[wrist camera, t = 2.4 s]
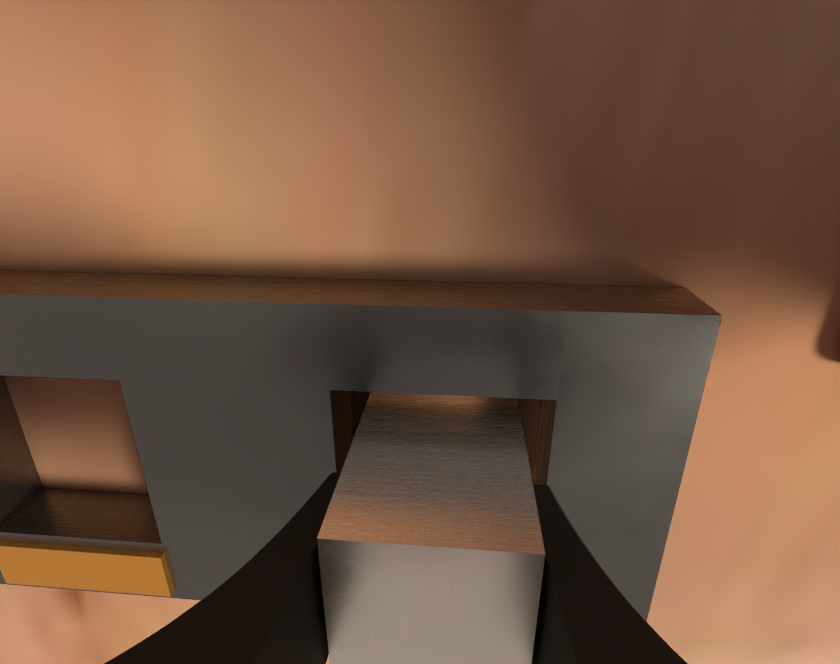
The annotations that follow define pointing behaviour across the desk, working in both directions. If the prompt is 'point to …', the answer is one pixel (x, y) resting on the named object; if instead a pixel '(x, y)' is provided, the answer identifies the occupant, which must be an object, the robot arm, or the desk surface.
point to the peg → (433, 536)
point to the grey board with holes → (335, 408)
